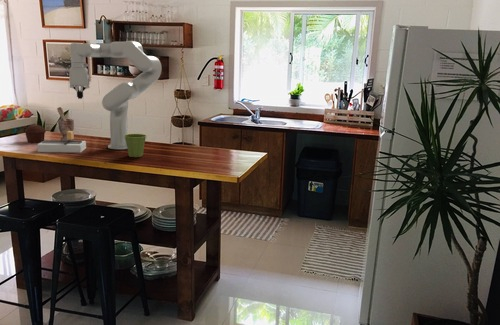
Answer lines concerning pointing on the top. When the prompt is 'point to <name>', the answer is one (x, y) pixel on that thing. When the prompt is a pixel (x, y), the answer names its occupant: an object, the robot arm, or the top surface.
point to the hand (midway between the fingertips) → (80, 98)
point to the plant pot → (135, 144)
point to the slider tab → (70, 136)
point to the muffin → (35, 133)
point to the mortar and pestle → (65, 125)
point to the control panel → (61, 146)
